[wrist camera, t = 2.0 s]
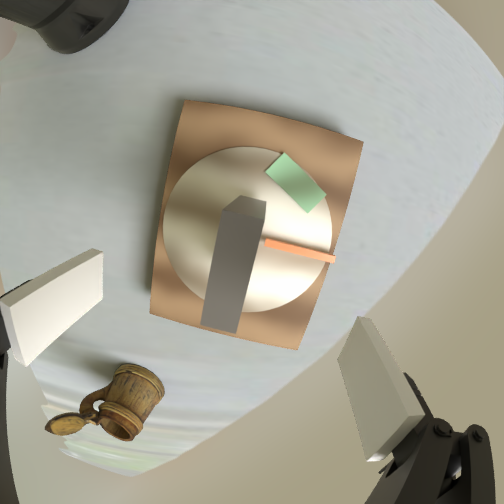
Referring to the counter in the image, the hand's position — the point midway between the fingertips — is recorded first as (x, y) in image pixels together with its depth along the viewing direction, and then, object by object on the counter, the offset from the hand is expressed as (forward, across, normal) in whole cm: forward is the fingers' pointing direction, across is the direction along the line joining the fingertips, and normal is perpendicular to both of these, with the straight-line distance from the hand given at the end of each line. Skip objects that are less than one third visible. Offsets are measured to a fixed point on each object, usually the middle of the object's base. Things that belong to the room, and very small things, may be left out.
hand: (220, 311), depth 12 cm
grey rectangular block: (+14, +4, 0) cm, 15 cm away
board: (+19, 0, 0) cm, 19 cm away
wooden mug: (+19, -14, -29) cm, 38 cm away
